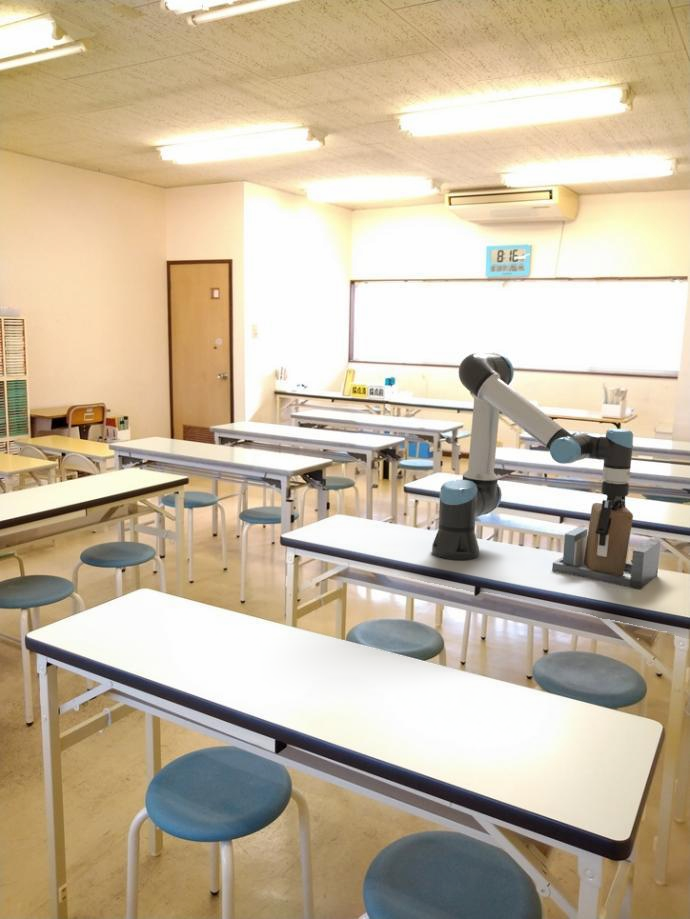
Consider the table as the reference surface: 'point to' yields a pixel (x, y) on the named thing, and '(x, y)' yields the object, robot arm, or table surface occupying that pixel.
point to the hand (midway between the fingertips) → (609, 551)
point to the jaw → (575, 546)
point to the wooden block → (609, 541)
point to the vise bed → (640, 568)
